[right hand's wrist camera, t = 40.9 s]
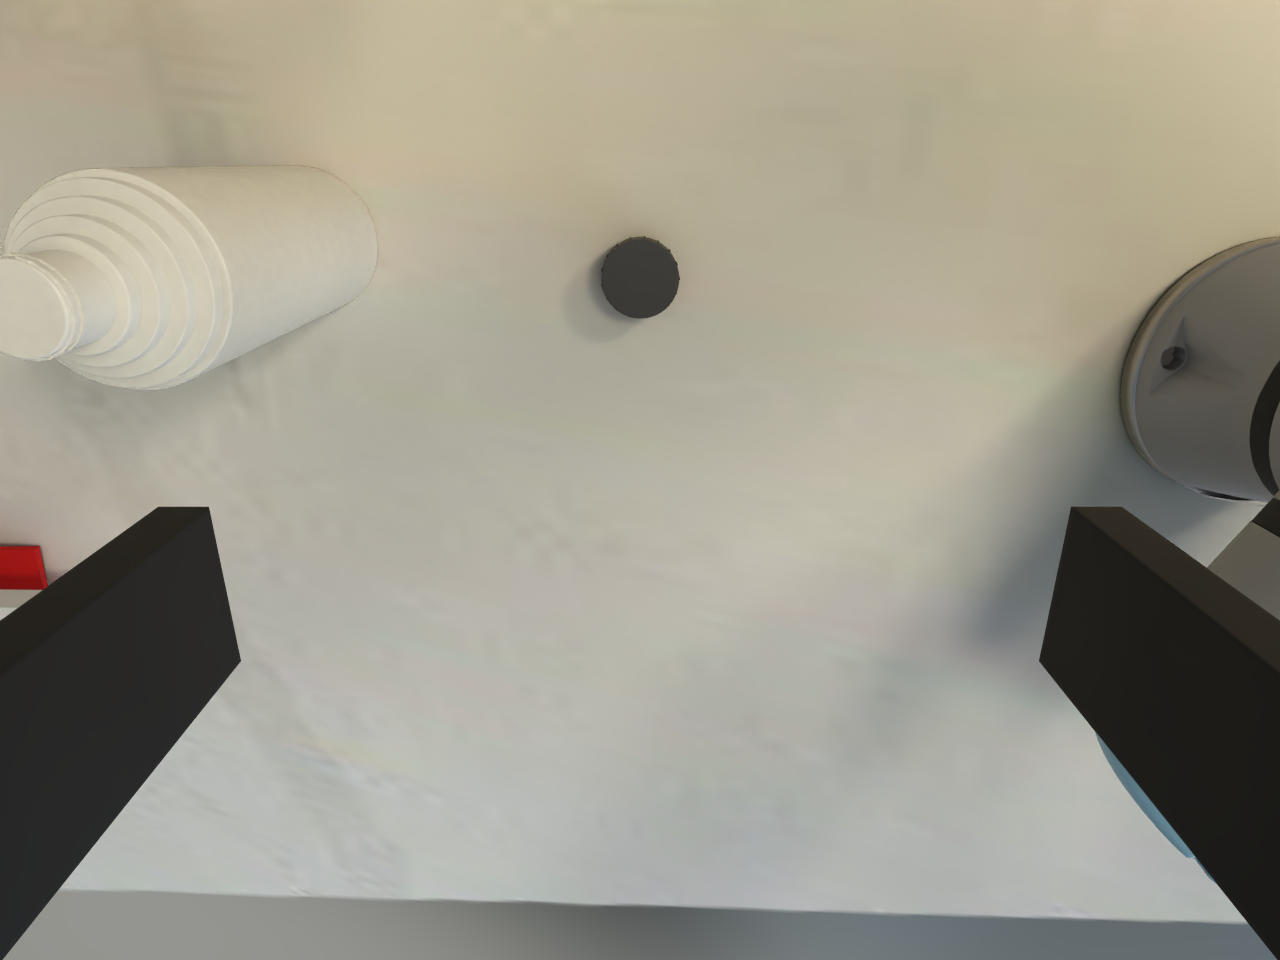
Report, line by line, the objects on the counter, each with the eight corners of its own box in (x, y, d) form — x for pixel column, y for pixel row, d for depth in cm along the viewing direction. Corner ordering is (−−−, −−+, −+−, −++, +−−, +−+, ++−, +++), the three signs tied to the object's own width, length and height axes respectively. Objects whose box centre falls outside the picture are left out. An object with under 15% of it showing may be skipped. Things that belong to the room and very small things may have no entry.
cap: (623, 221, 46) (622, 223, 44) (692, 258, 46) (694, 262, 45) (589, 292, 47) (587, 296, 46) (656, 327, 48) (657, 332, 46)
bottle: (360, 330, 48) (130, 468, 26) (225, 282, 47) (-128, 385, 25) (393, 197, 45) (168, 230, 24) (251, 143, 44) (-120, 126, 23)
